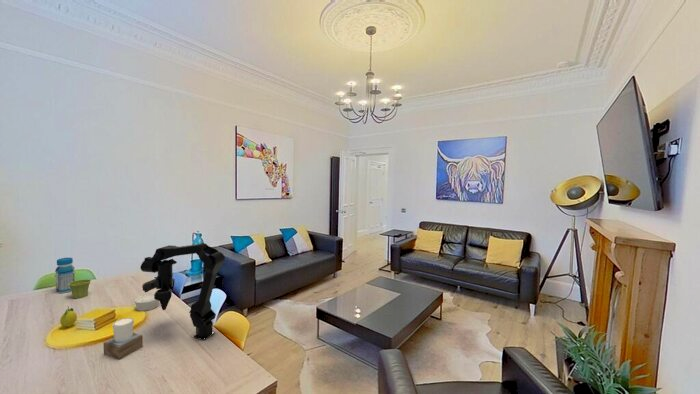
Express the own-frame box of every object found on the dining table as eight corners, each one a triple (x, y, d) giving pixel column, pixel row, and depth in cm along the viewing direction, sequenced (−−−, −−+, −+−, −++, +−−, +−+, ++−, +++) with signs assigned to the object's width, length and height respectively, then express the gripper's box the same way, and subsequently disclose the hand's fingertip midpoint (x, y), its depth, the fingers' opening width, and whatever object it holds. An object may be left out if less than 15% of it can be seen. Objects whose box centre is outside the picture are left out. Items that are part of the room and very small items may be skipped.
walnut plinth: (142, 346, 117) (142, 334, 117) (119, 359, 108) (119, 346, 108) (127, 342, 119) (127, 330, 119) (103, 354, 111) (103, 341, 110)
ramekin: (130, 309, 148) (129, 299, 148) (151, 301, 159) (151, 292, 158) (143, 313, 144) (143, 304, 144) (164, 305, 155) (164, 296, 154)
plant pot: (93, 295, 163) (93, 281, 162) (71, 301, 155) (71, 286, 154) (88, 291, 168) (88, 278, 167) (66, 297, 160) (66, 282, 159)
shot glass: (122, 344, 110) (122, 327, 109) (108, 341, 111) (107, 324, 110) (138, 334, 116) (138, 318, 116) (124, 332, 118) (124, 316, 117)
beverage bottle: (65, 293, 164) (64, 261, 163) (51, 293, 164) (50, 260, 163) (79, 288, 172) (78, 257, 171) (66, 287, 172) (65, 256, 171)
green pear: (65, 331, 126) (64, 310, 125) (55, 329, 127) (54, 308, 126) (82, 324, 132) (81, 303, 132) (72, 322, 134) (72, 302, 133)
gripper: (147, 269, 132) (147, 300, 133) (139, 282, 116) (139, 318, 117) (174, 266, 138) (174, 296, 138) (170, 279, 121) (171, 313, 122)
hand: (165, 305), depth 129 cm, fingers open, 9 cm apart
